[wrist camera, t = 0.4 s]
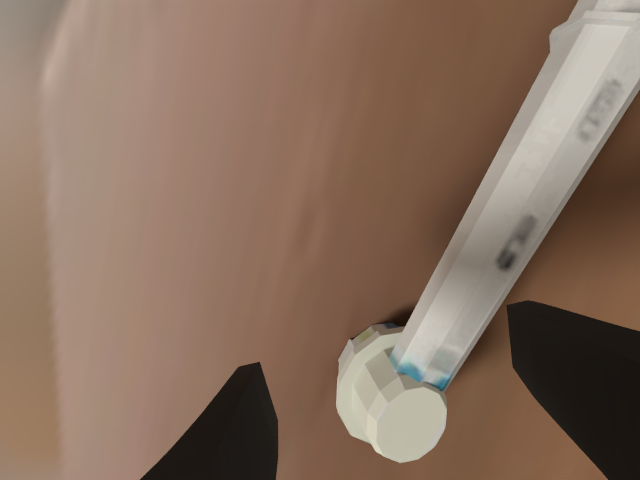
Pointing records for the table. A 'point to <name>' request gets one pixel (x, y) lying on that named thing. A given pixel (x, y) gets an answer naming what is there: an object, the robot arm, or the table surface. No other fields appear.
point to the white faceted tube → (495, 233)
